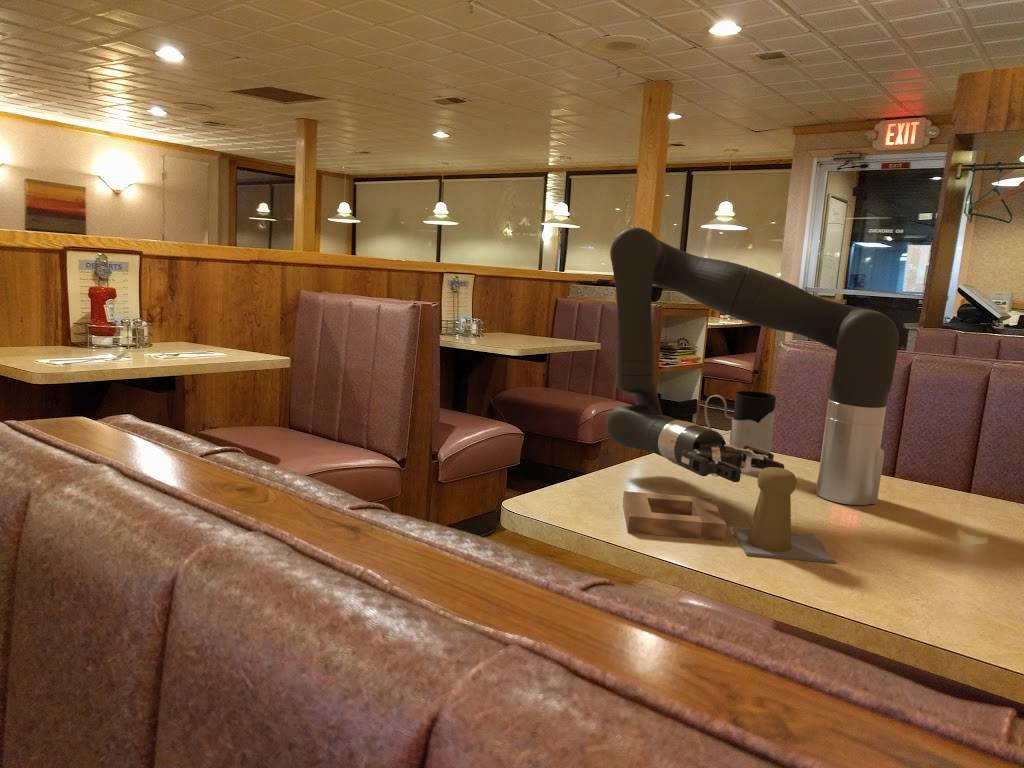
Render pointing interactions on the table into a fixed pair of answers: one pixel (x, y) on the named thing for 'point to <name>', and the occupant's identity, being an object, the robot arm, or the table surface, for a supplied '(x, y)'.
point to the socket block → (673, 516)
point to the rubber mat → (800, 549)
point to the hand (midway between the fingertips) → (761, 473)
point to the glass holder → (750, 421)
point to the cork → (773, 510)
